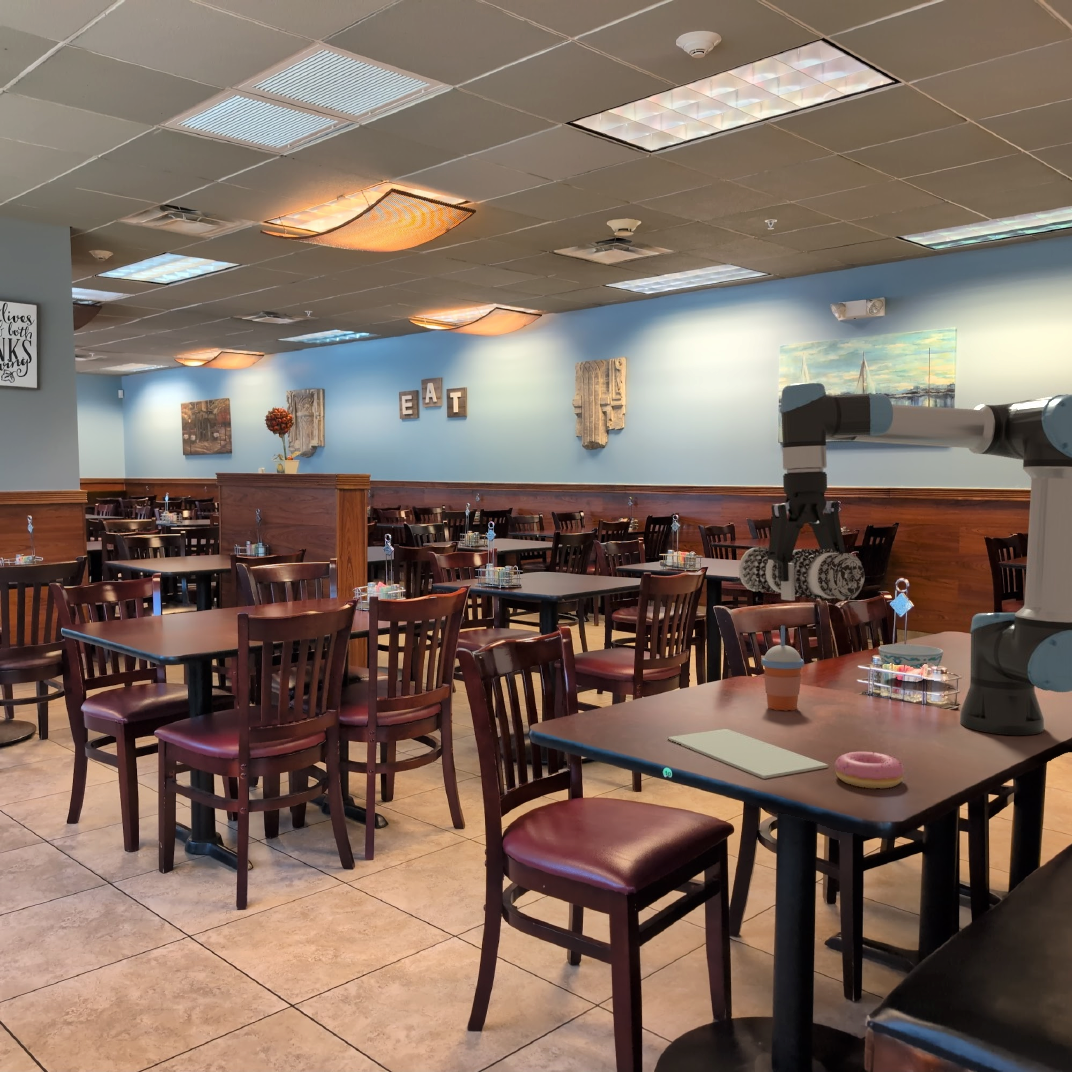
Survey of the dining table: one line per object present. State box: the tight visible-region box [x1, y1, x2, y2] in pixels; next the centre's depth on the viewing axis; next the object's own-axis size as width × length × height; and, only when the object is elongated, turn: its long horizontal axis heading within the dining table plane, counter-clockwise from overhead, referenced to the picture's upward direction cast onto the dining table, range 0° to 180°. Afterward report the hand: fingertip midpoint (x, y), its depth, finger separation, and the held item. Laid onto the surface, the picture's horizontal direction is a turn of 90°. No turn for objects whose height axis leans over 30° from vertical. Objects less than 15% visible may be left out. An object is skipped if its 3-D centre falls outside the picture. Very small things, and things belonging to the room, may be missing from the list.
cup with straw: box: [760, 625, 805, 712], centre depth 212 cm, size 9×9×18 cm
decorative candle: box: [738, 546, 865, 602], centre depth 175 cm, size 9×9×25 cm
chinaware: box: [878, 643, 944, 668], centre depth 242 cm, size 15×15×8 cm
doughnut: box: [833, 751, 906, 789], centre depth 160 cm, size 11×11×4 cm
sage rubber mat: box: [667, 728, 829, 779], centre depth 176 cm, size 28×14×1 cm, turn 27°
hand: (808, 597), depth 174 cm, fingers closed on decorative candle, 8 cm apart
